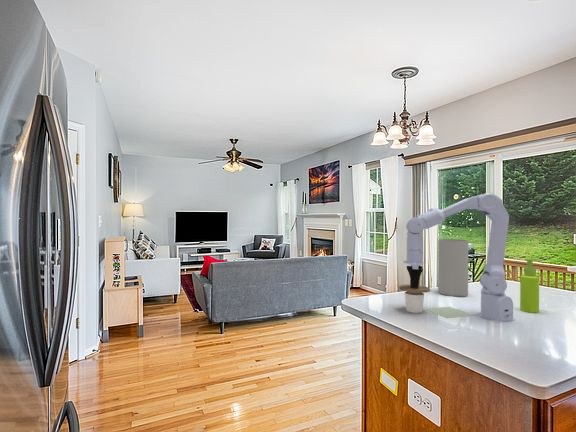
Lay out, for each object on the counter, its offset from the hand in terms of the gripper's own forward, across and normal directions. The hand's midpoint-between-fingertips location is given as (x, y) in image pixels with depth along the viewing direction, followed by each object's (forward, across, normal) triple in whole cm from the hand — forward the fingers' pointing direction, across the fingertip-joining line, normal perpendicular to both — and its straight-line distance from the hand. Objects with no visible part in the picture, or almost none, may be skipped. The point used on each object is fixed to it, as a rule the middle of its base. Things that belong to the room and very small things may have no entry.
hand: (414, 285), depth 127 cm
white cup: (+10, 0, 0) cm, 10 cm away
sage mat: (+10, -2, +12) cm, 15 cm away
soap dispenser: (+10, -16, +42) cm, 46 cm away
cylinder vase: (+10, -37, +18) cm, 42 cm away
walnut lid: (+1, 0, 0) cm, 1 cm away
